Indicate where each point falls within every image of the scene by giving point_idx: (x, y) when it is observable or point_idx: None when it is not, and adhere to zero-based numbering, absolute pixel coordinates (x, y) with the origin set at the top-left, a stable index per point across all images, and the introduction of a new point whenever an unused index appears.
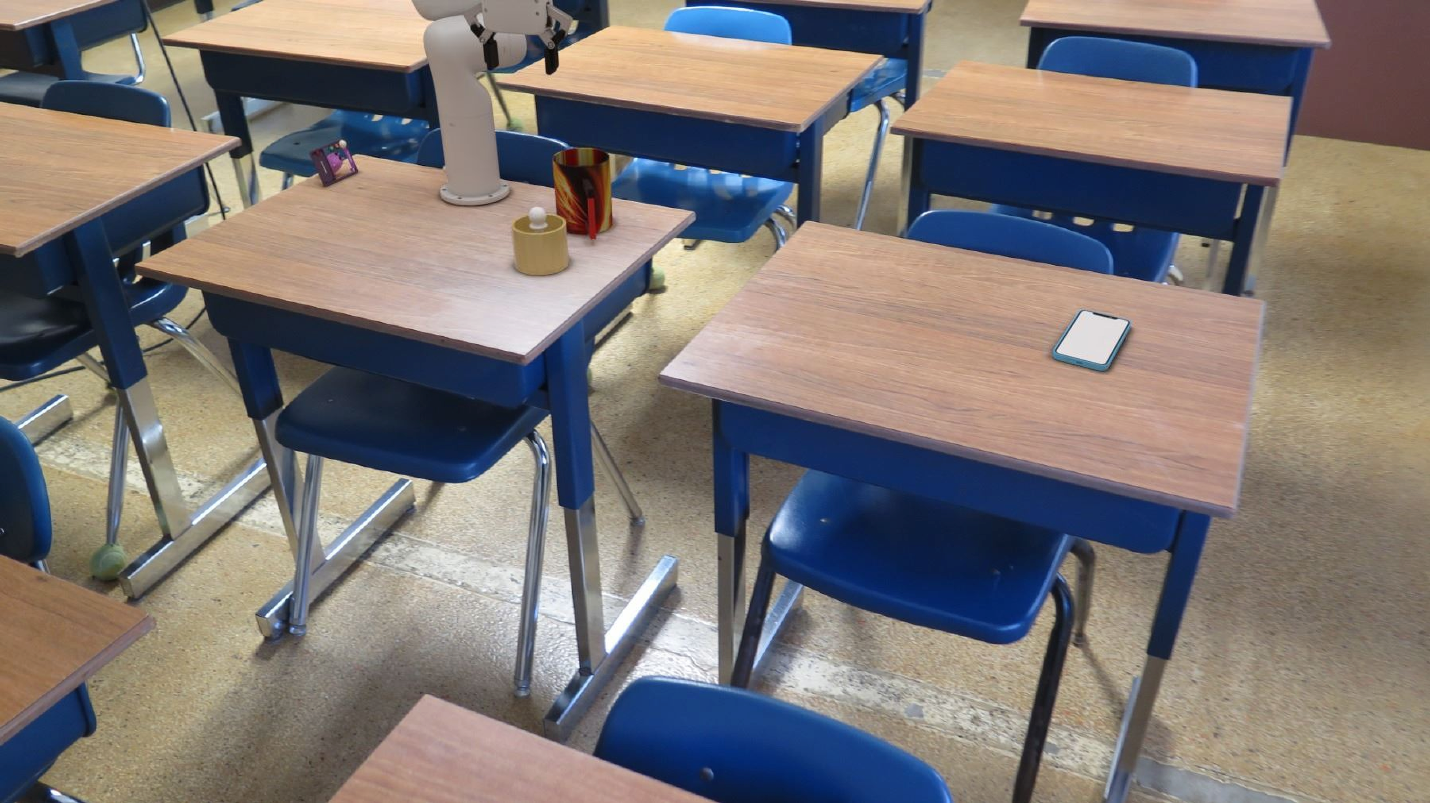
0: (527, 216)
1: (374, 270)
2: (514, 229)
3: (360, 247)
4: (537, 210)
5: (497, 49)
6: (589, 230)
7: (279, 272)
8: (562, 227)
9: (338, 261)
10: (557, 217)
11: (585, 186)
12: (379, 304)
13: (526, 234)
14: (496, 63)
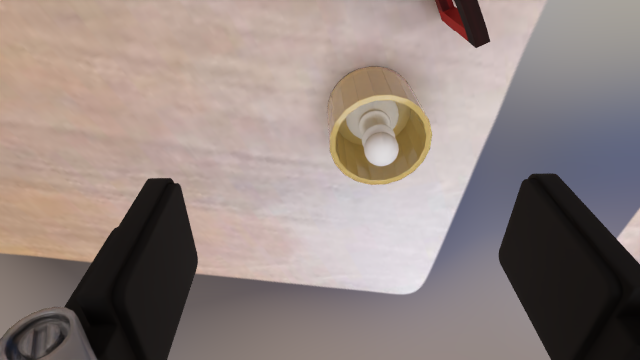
0: (347, 115)
1: (140, 184)
2: (346, 174)
3: (54, 122)
4: (386, 163)
5: (145, 250)
6: (442, 11)
7: (28, 216)
8: (428, 148)
9: (69, 172)
10: (407, 105)
11: (463, 14)
12: (215, 253)
13: (372, 183)
14: (180, 222)
